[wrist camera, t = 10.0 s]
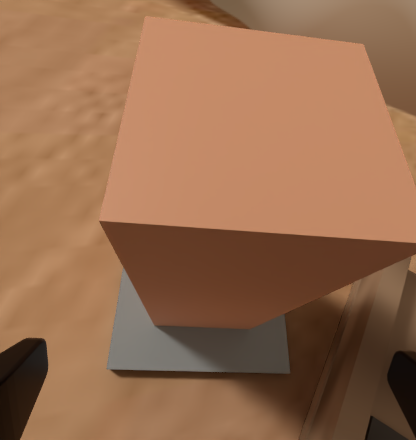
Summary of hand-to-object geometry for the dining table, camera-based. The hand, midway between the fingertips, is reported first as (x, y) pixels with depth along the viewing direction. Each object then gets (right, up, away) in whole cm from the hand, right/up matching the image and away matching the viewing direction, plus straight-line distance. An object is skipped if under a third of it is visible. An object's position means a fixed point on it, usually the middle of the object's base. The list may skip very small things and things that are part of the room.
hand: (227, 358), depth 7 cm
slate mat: (-1, 0, +9) cm, 9 cm away
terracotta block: (-1, 0, +9) cm, 9 cm away
